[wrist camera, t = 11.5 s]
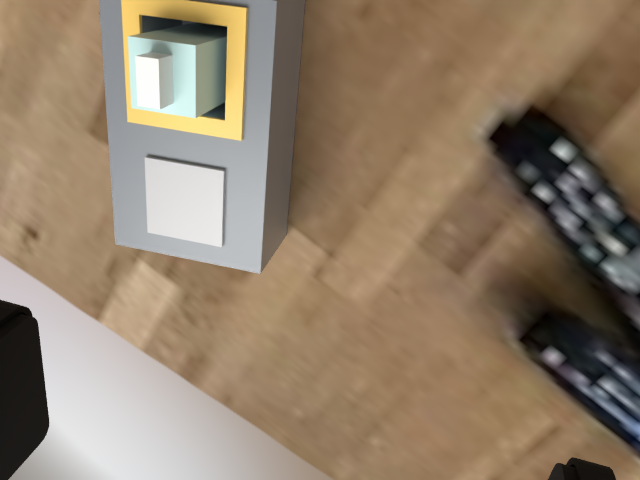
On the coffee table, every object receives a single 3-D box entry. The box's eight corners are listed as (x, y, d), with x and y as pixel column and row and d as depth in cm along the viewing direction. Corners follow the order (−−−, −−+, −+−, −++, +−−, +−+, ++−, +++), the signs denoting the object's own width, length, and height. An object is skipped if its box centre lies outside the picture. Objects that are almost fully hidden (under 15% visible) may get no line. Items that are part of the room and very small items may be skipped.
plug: (194, 22, 36) (111, 39, 27) (249, 30, 35) (182, 49, 27) (194, 81, 37) (115, 114, 29) (247, 89, 37) (183, 125, 28)
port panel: (151, -23, 36) (94, -22, 30) (305, -5, 34) (275, 1, 29) (158, 210, 43) (113, 245, 38) (286, 235, 42) (258, 275, 36)
